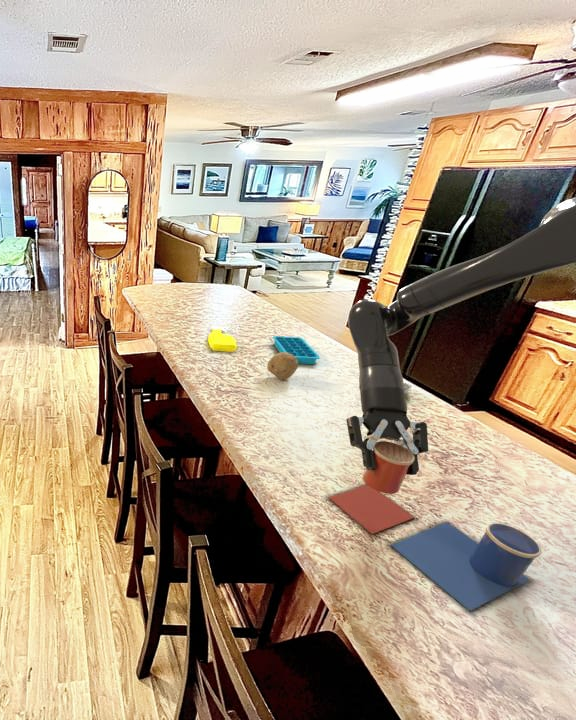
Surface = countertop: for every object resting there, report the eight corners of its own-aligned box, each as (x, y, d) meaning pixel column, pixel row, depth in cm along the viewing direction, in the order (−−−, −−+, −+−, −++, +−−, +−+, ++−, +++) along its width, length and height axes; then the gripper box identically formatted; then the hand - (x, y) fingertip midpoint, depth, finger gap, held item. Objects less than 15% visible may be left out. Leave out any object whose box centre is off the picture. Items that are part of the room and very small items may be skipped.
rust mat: (368, 484, 88) (368, 484, 88) (414, 518, 79) (414, 517, 79) (328, 498, 84) (328, 497, 84) (371, 534, 75) (372, 533, 75)
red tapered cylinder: (376, 468, 82) (389, 438, 79) (408, 489, 77) (423, 458, 73) (353, 475, 80) (365, 445, 77) (384, 498, 75) (398, 466, 71)
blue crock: (482, 549, 72) (501, 518, 69) (527, 580, 67) (551, 548, 63) (459, 559, 70) (478, 528, 67) (503, 593, 65) (527, 560, 61)
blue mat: (446, 522, 78) (446, 522, 78) (529, 580, 67) (529, 579, 67) (390, 545, 73) (390, 544, 73) (469, 611, 62) (470, 610, 62)
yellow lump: (209, 350, 154) (205, 329, 176) (237, 352, 152) (230, 331, 174) (210, 343, 153) (205, 323, 175) (239, 345, 151) (231, 325, 173)
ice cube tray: (299, 344, 160) (301, 337, 159) (319, 365, 142) (321, 358, 141) (270, 342, 162) (272, 336, 160) (286, 363, 144) (288, 356, 142)
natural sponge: (264, 382, 131) (270, 355, 126) (264, 371, 138) (270, 345, 134) (294, 387, 128) (301, 360, 123) (292, 375, 135) (299, 349, 131)
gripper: (353, 382, 78) (361, 466, 73) (432, 388, 76) (446, 476, 71) (336, 391, 85) (342, 469, 80) (408, 397, 83) (419, 477, 78)
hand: (391, 472), depth 75 cm, fingers closed on red tapered cylinder, 6 cm apart
